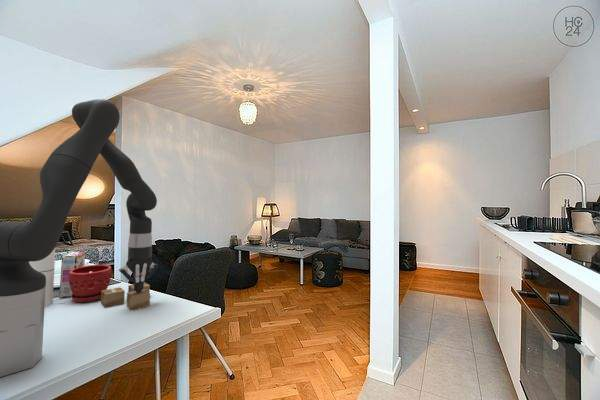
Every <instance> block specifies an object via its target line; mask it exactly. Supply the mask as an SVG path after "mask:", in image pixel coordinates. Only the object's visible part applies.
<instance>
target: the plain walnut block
mask: <svg viewBox="0 0 600 400" xmlns="http://www.w3.org/2000/svg"><path fill="white" fill-rule="evenodd" d="M150 303H151V292H150V293H149V292H148V291H147V290H145V289H144V290H142V291H141V292H136V291H134V292H126V307H127V309H129V310H130V311H131V310H132V311H135V309H136V310H140V309H139V308H141V309H145V308H148V307H147V306H149V307H150V305H151V304H150ZM144 307H145V308H144Z"/></svg>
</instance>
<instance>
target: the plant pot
mask: <svg viewBox="0 0 600 400" xmlns="http://www.w3.org/2000/svg"><path fill="white" fill-rule="evenodd" d="M111 278H112V266H111V265H108V264H90V265H84V266H83V267H78V268H75V269H72V270H71V271H69V285H70V289H71V291H72V293H73V295H72V296H71V297H70V298H71V299H72V300H73V301H74V302H75V303H76V302H78V303H87V302H94V301H97V300H101V291H102V290H107V289H109V288H108V287H109V286H110V283H111ZM77 281H78V282H77Z"/></svg>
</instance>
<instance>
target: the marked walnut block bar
mask: <svg viewBox="0 0 600 400" xmlns="http://www.w3.org/2000/svg"><path fill="white" fill-rule="evenodd" d="M125 291H126V290H124V289H123V288H122V287H114V288H107V290H102V291H101V299H100V304H101V306H103V308H104V309H107V308H110V307H111V308H112V307H116V306H120V305H124V304H125Z"/></svg>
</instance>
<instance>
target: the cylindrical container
mask: <svg viewBox="0 0 600 400" xmlns="http://www.w3.org/2000/svg"><path fill="white" fill-rule="evenodd" d="M55 261H56V247H55V248H54V250H53V251H52V253H51V254H50V255H49V256H47V257H46V258H44V259H42V260H40V261H29V264H30V265H31V267H32V268H33V269H35V270H36V271H38V272H40V273H42V274H44V275H45V277H46V290H45V307H48V306H50V305H53V301H54V300H53V299H54V284H55V283H54V282H55V266H56V265H55V264H56V263H55Z"/></svg>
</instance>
